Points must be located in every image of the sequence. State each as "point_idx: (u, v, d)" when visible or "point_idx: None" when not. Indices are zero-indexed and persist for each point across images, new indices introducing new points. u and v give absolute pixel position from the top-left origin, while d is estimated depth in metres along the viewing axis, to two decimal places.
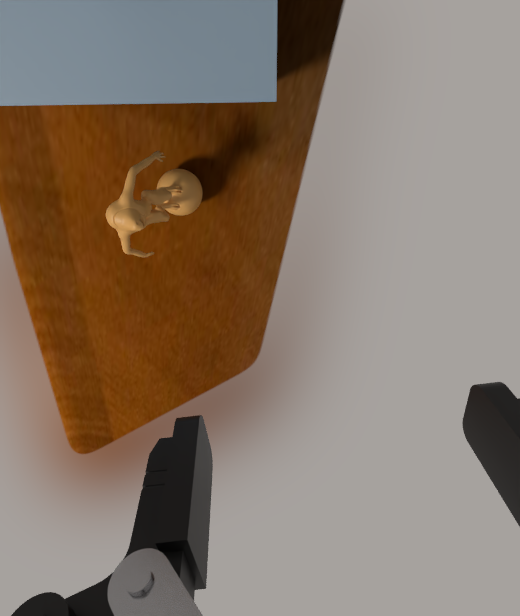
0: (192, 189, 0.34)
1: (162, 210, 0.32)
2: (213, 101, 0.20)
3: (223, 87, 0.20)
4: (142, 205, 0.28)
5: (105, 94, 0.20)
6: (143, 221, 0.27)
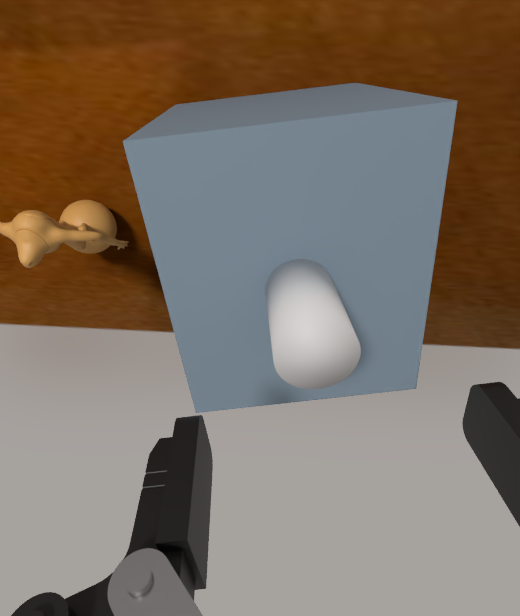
0: (96, 249, 0.29)
1: None
2: (185, 370, 0.21)
3: (198, 377, 0.21)
4: (57, 248, 0.22)
5: (169, 281, 0.18)
6: (36, 263, 0.21)
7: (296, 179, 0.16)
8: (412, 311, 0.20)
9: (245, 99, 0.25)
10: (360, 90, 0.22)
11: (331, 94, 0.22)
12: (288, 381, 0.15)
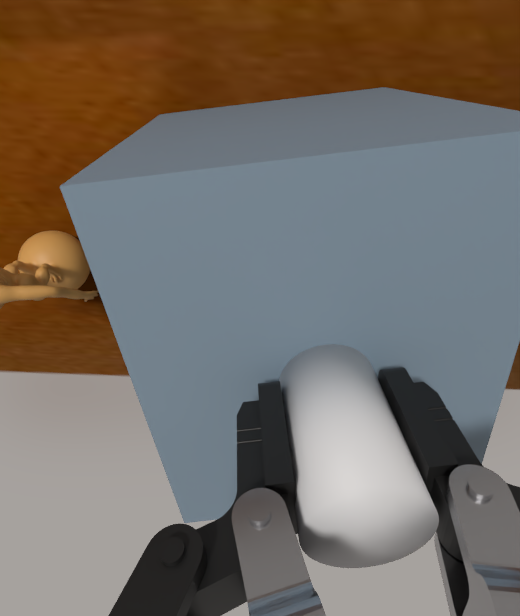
0: None
1: None
2: (169, 477, 0.16)
3: (187, 484, 0.16)
4: None
5: (142, 374, 0.13)
6: None
7: (329, 239, 0.11)
8: (479, 405, 0.14)
9: (247, 109, 0.20)
10: (400, 99, 0.17)
11: (362, 104, 0.17)
12: (320, 560, 0.10)
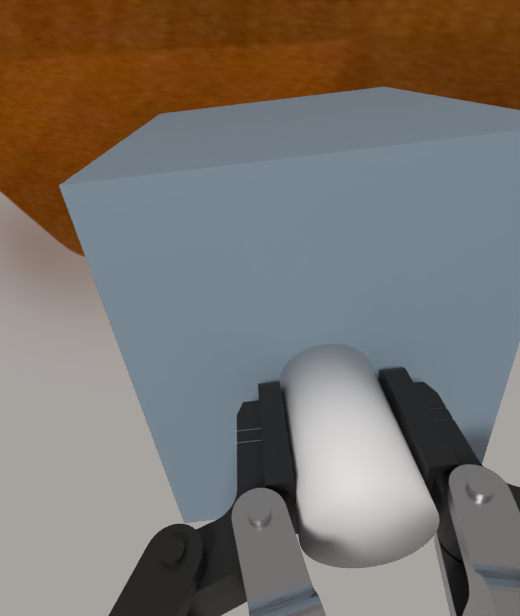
0: None
1: None
2: (168, 477, 0.15)
3: (187, 484, 0.16)
4: None
5: (142, 374, 0.13)
6: None
7: (329, 238, 0.11)
8: (480, 405, 0.14)
9: (247, 108, 0.20)
10: (400, 98, 0.17)
11: (362, 104, 0.17)
12: (321, 561, 0.10)
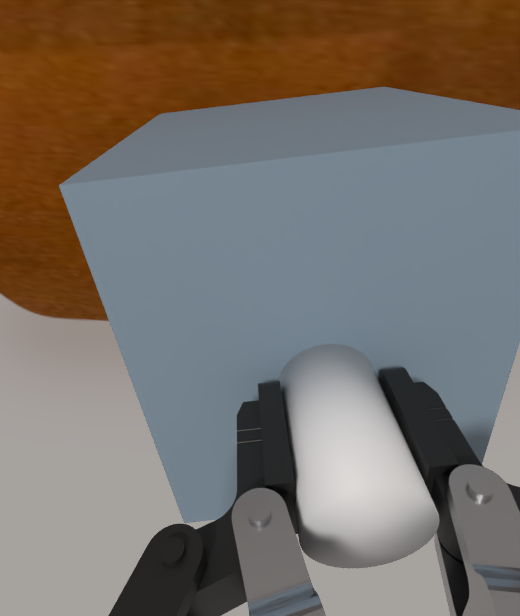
0: None
1: None
2: (168, 477, 0.15)
3: (187, 484, 0.16)
4: None
5: (142, 374, 0.13)
6: None
7: (329, 238, 0.11)
8: (480, 405, 0.14)
9: (247, 108, 0.20)
10: (400, 98, 0.17)
11: (362, 104, 0.17)
12: (321, 561, 0.10)
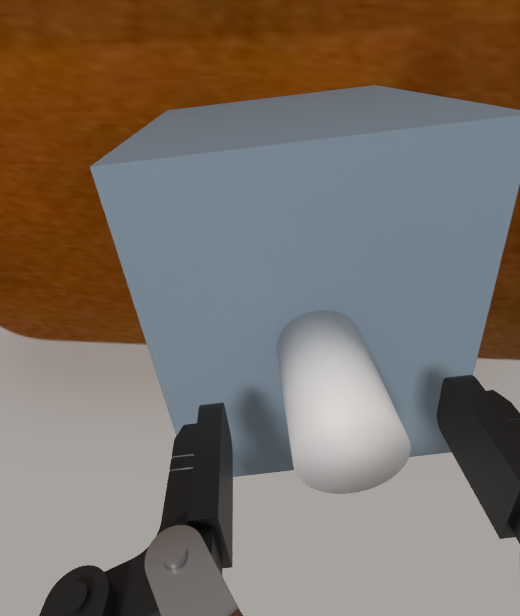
0: None
1: None
2: None
3: None
4: None
5: (156, 337, 0.14)
6: None
7: (320, 214, 0.12)
8: (456, 368, 0.16)
9: (248, 105, 0.21)
10: (387, 95, 0.18)
11: (353, 100, 0.18)
12: (311, 485, 0.11)
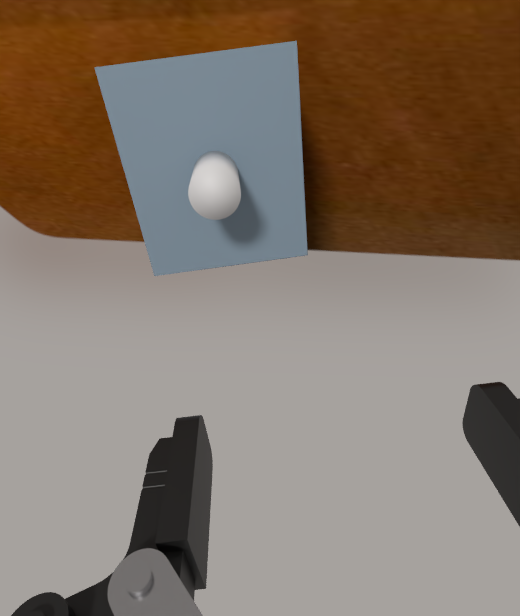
0: None
1: None
2: (144, 239, 0.30)
3: (154, 244, 0.31)
4: None
5: (129, 167, 0.28)
6: None
7: (205, 93, 0.26)
8: (294, 191, 0.29)
9: None
10: None
11: None
12: (199, 213, 0.25)
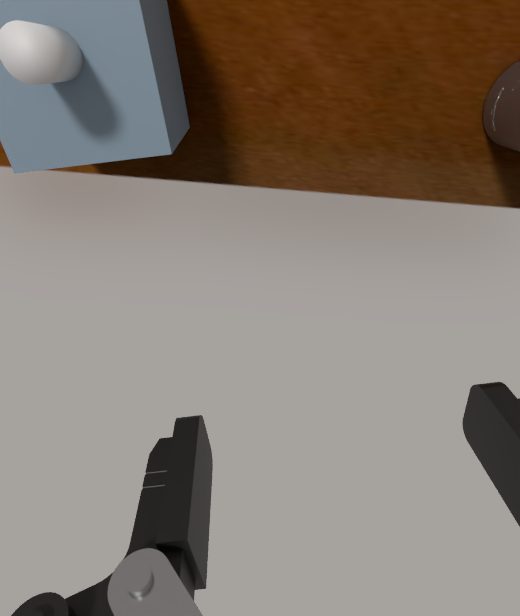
0: None
1: None
2: None
3: (7, 136, 0.30)
4: None
5: None
6: None
7: None
8: (145, 77, 0.28)
9: None
10: None
11: None
12: (15, 76, 0.24)
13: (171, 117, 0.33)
